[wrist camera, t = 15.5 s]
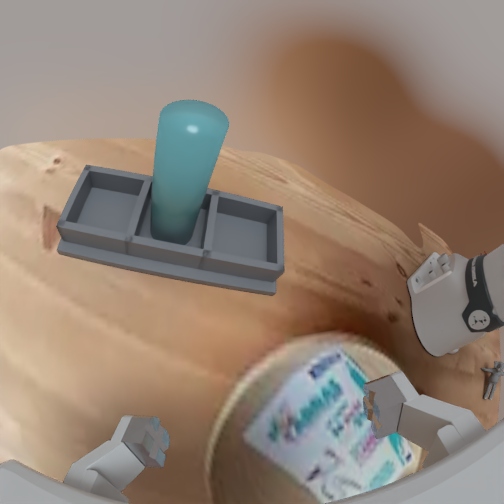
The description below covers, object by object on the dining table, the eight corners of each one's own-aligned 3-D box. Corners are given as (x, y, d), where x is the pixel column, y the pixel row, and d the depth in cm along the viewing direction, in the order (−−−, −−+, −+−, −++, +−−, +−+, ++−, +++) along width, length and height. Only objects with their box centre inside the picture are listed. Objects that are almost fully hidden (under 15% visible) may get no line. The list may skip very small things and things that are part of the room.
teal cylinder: (177, 203, 31) (203, 95, 19) (202, 234, 30) (242, 129, 18) (141, 222, 29) (147, 108, 16) (166, 256, 28) (184, 148, 15)
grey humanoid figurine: (474, 396, 36) (488, 357, 38) (467, 394, 40) (480, 358, 42) (505, 403, 30) (518, 364, 32) (497, 401, 35) (508, 365, 37)
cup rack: (272, 217, 36) (285, 200, 33) (272, 295, 31) (288, 283, 28) (90, 179, 30) (87, 157, 26) (59, 254, 24) (49, 235, 21)
